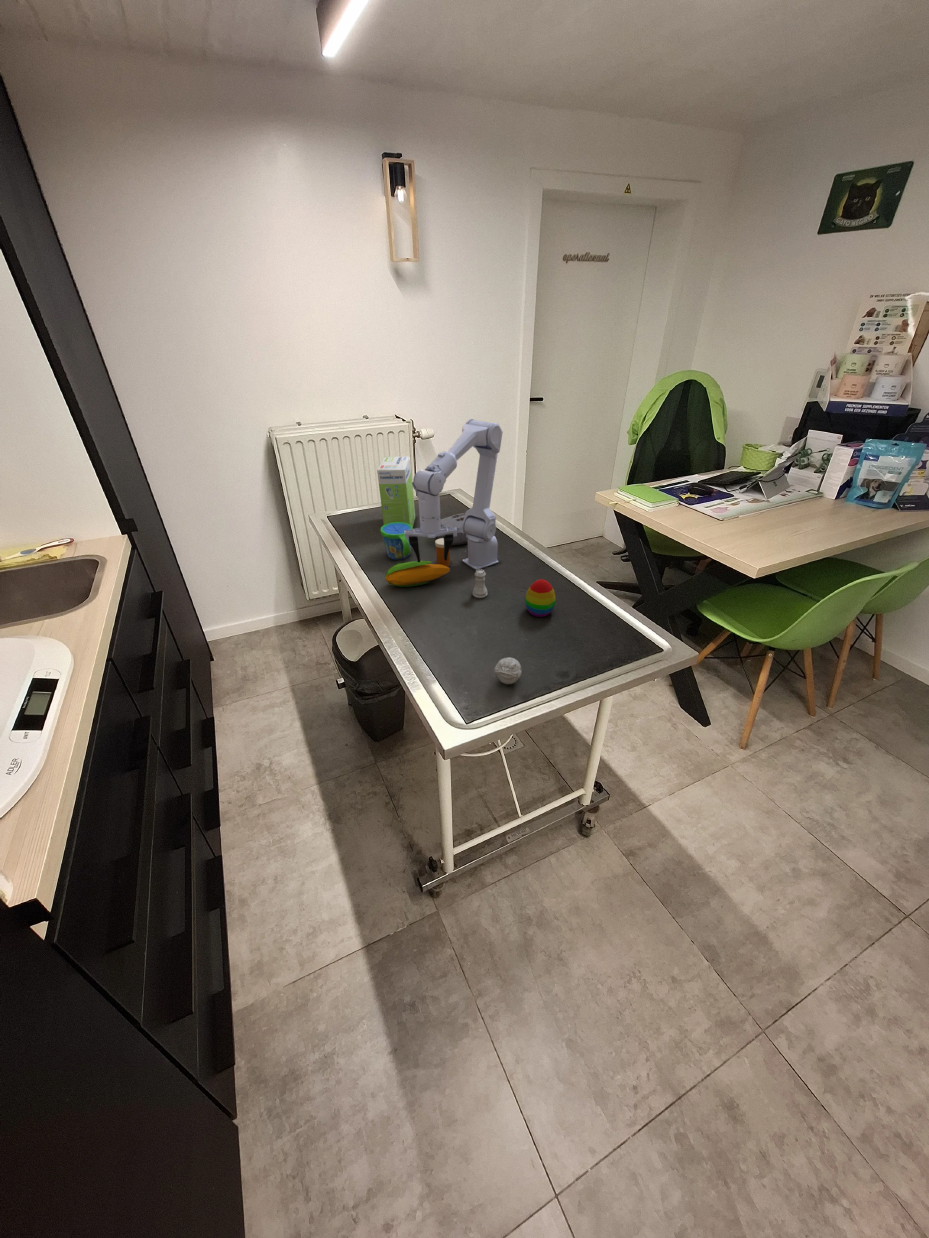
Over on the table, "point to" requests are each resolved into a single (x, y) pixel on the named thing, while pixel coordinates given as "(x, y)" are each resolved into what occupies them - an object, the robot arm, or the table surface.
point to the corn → (414, 573)
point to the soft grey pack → (456, 522)
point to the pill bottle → (441, 553)
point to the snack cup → (396, 540)
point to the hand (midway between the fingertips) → (432, 559)
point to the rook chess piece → (480, 585)
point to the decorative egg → (540, 598)
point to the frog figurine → (508, 670)
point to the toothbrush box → (396, 490)
